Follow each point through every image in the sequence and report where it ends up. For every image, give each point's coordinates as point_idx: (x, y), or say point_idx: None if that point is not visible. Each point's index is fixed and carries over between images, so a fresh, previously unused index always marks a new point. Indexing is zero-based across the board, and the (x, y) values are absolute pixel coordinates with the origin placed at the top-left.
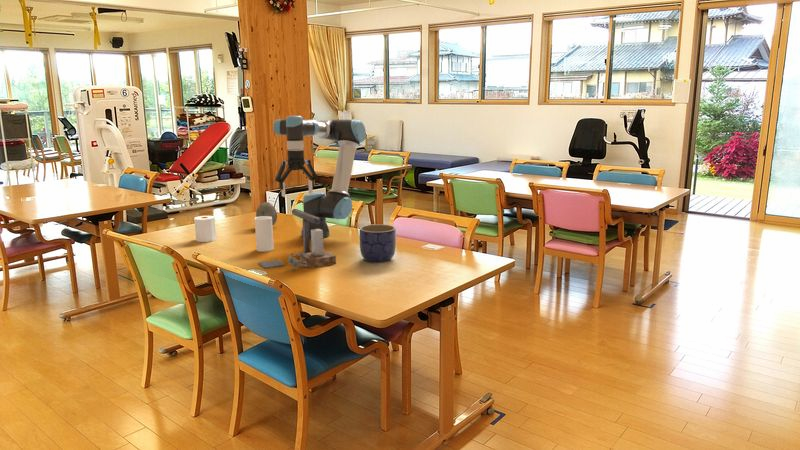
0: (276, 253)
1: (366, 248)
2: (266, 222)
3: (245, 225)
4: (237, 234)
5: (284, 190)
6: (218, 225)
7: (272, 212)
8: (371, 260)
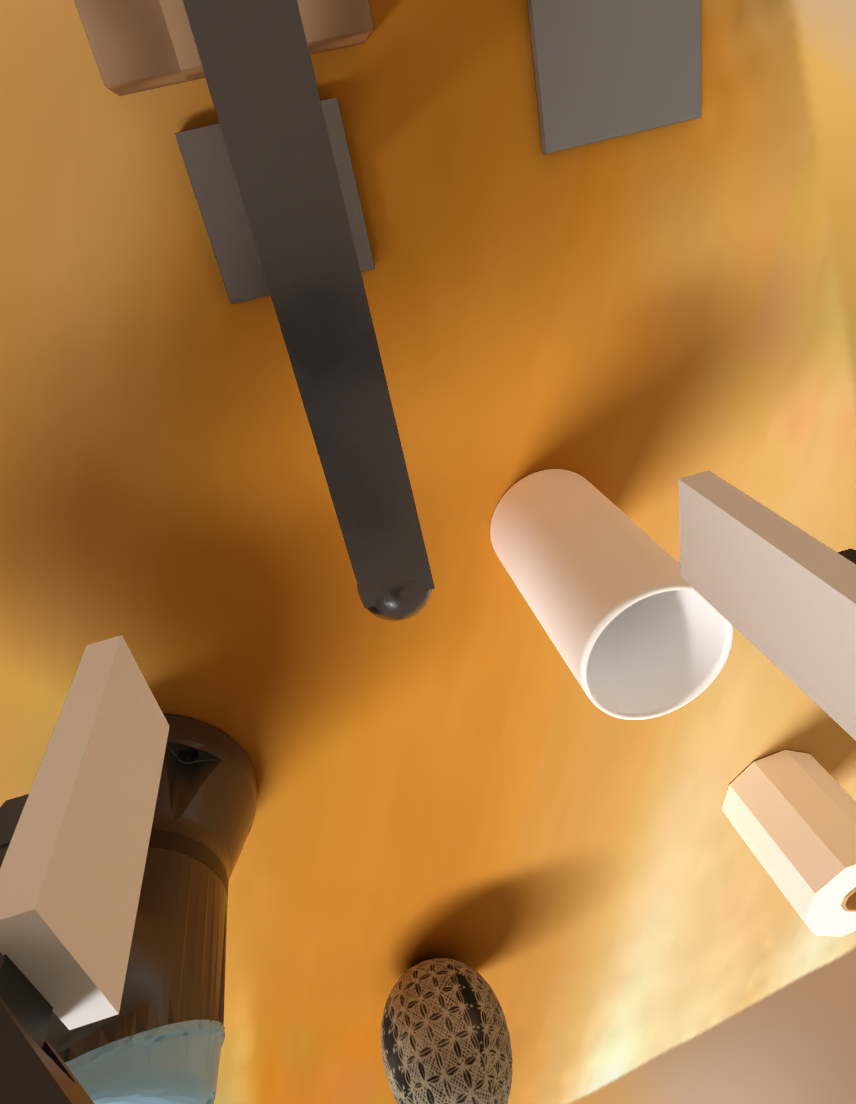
0: (498, 393)
1: None
2: (639, 573)
3: (525, 1006)
4: (604, 864)
5: (775, 532)
6: (639, 1008)
7: (421, 1050)
8: None
